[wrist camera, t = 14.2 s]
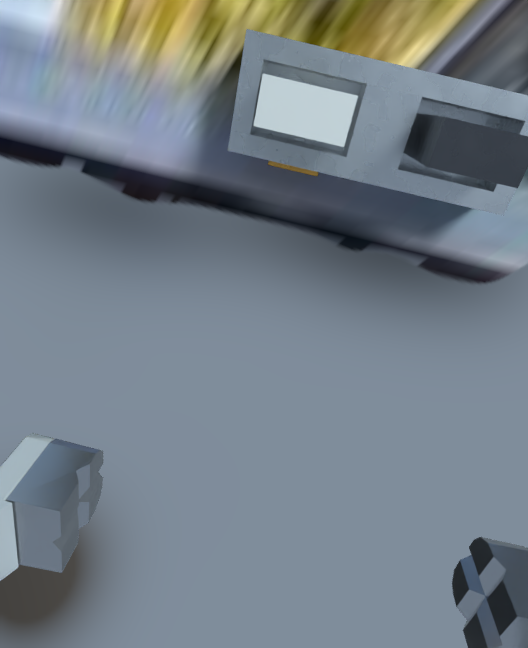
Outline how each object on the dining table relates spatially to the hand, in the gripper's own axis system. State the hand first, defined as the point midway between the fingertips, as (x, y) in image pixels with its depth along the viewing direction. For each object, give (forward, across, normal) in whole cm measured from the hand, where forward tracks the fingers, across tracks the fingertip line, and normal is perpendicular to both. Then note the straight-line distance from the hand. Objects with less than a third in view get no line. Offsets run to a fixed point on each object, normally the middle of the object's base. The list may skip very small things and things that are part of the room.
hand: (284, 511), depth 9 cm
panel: (+33, +2, -7) cm, 34 cm away
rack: (+34, -4, -7) cm, 35 cm away
